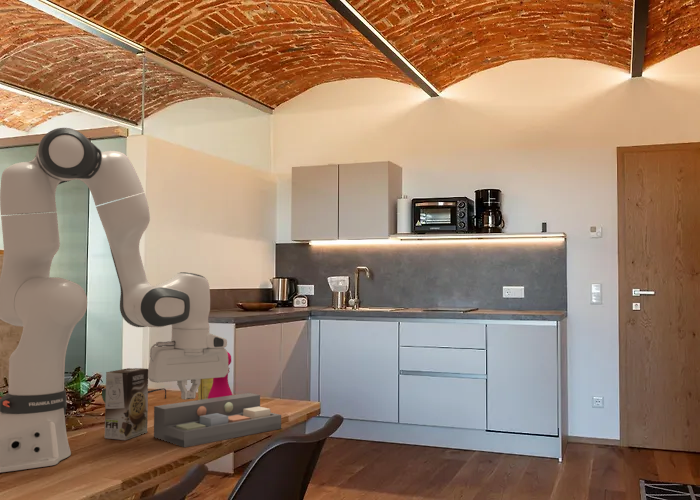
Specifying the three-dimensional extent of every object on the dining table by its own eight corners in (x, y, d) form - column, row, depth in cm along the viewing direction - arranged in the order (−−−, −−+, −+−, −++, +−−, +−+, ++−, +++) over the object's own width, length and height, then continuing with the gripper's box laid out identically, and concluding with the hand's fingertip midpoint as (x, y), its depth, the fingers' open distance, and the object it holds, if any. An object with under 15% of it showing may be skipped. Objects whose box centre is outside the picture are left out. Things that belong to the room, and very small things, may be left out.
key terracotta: (233, 428, 171) (233, 420, 171) (221, 425, 175) (221, 417, 175) (249, 425, 175) (249, 417, 175) (238, 422, 178) (238, 414, 179)
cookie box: (126, 440, 166) (127, 372, 167) (103, 438, 168) (104, 371, 169) (148, 432, 175) (149, 368, 175) (127, 430, 177) (127, 367, 177)
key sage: (187, 437, 162) (187, 428, 162) (175, 433, 166) (176, 425, 166) (205, 433, 166) (205, 425, 166) (194, 430, 169) (194, 422, 169)
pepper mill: (227, 419, 191) (228, 346, 192) (202, 418, 192) (203, 345, 193) (237, 414, 198) (237, 343, 199) (213, 413, 200) (213, 343, 200)
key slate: (210, 427, 167) (211, 418, 167) (199, 424, 170) (199, 415, 171) (228, 424, 170) (228, 416, 170) (216, 421, 174) (216, 413, 174)
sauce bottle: (223, 404, 213) (223, 339, 214) (208, 407, 208) (209, 341, 209) (207, 402, 217) (208, 338, 217) (192, 405, 211) (193, 339, 212)
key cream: (254, 419, 176) (254, 411, 176) (243, 416, 180) (243, 408, 180) (270, 416, 179) (270, 409, 180) (258, 414, 183) (258, 406, 183)
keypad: (184, 447, 159) (184, 414, 160) (153, 437, 169) (154, 406, 170) (281, 428, 179) (281, 399, 180) (248, 420, 189) (249, 392, 190)
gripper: (157, 342, 157) (155, 404, 156) (232, 339, 172) (231, 396, 171) (144, 341, 162) (141, 401, 161) (218, 338, 176) (216, 393, 175)
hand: (188, 398), depth 166 cm, fingers closed
